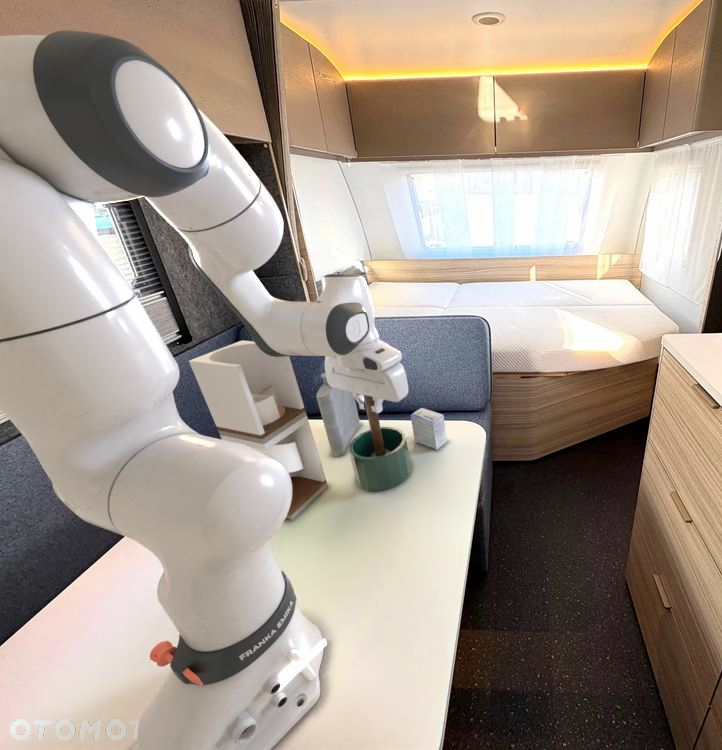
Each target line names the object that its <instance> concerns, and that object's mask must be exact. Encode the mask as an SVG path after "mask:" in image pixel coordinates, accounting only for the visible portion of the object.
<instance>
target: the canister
mask: <svg viewBox="0 0 722 750" xmlns="http://www.w3.org/2000/svg"><path fill="white" fill-rule="evenodd" d="M380 428H381V433H382V438H383V443H384V448H385V449H388V450H390V452H389V453H387V454H385V455H381V456H377V457H371V455H372V453H373V452H374V451H375V448H374V444H373V439H372V434H371V430H370V429H368V430H366V431H364V432H362V433H360V434H358V435H357V436H356V437H354V438H353V439H352V441H351V442H350V443H349V444H348V445H349V446H348V452H349V456H350V460H351V461H350V462H351V464H352V468H353V472H354V476H355V480H356V482H357V484H358V486H359V487H360V488H361V489H364V490H366V491H369V492H381V491H387V490H390V489H393V488H395V487H398V486H399V485H400V484H401V485H402V484H403V483H404V482H405V481H406V480H407V479H408V478H409V476H410V474H411V471H412V464H411V459H410V453H409V448H408V441H407V436H406V433H405V432H404V431H403V430H402V429H400V428H396V427H392V426H380Z"/></svg>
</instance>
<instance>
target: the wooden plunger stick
mask: <svg viewBox="0 0 722 750" xmlns="http://www.w3.org/2000/svg"><path fill="white" fill-rule="evenodd" d="M363 397H364V402H365V406H366V410H365V411H366V416H367V420H368V426H369V430H371V434H372V439H373V444H374V448H375V451H374V452H373V453H372V455H371V457H377V456H381V455H385V454H387V453H389V452H390V450H388V449H385V448H384V443H383V438H382V433H381V428H380V427H381V423H380V419H379V413H375V412H372V408H371V406H372V405H373V404H375V401H374V400H373V398H372V397H371V396H367V395H363Z"/></svg>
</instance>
